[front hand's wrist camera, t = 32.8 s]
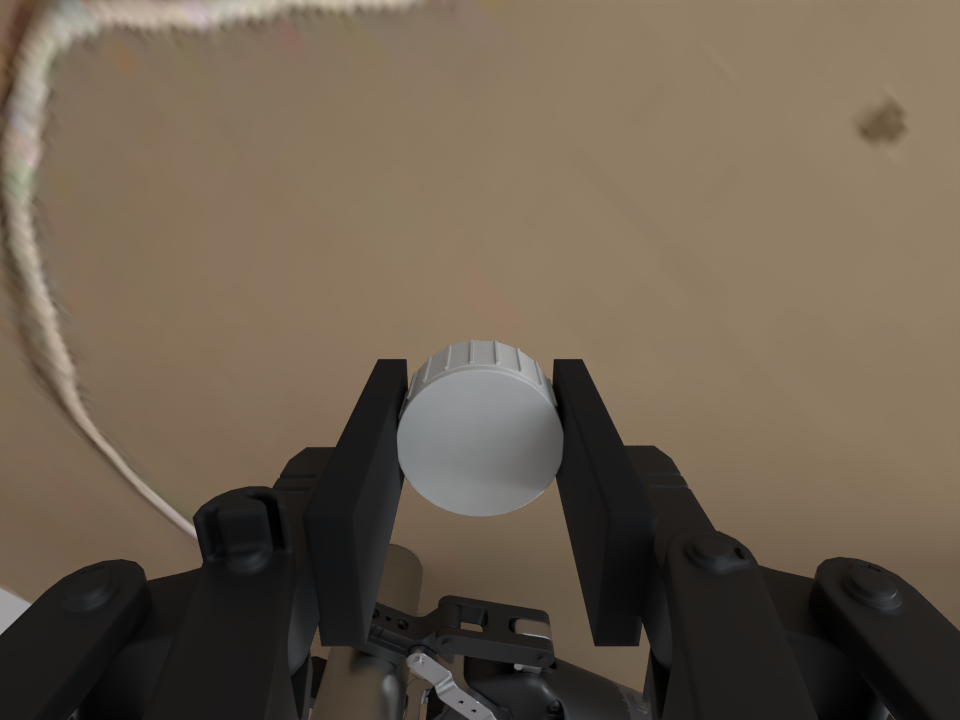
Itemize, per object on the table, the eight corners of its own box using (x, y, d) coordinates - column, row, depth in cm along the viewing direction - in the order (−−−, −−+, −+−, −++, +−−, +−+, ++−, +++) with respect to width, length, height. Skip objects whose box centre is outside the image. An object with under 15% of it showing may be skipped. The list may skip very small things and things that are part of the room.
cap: (545, 325, 14) (556, 353, 12) (564, 461, 15) (576, 506, 13) (389, 351, 14) (375, 383, 12) (422, 482, 15) (414, 529, 13)
